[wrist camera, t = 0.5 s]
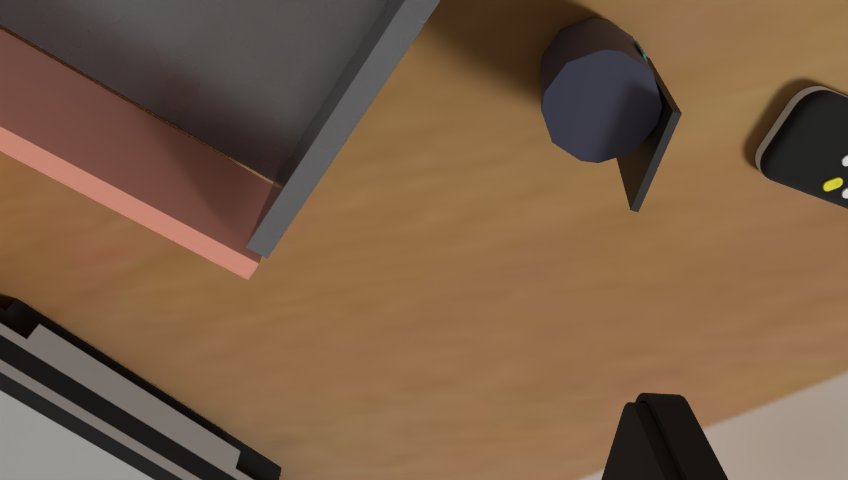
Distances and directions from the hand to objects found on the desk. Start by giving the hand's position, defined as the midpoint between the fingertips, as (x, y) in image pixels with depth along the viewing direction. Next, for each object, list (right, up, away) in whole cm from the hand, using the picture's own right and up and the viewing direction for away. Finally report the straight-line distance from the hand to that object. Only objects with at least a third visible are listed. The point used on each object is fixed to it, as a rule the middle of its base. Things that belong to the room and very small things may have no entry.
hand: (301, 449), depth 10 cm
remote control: (+29, +9, +34) cm, 46 cm away
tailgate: (-16, +11, +28) cm, 34 cm away
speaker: (+11, +13, +31) cm, 35 cm away
